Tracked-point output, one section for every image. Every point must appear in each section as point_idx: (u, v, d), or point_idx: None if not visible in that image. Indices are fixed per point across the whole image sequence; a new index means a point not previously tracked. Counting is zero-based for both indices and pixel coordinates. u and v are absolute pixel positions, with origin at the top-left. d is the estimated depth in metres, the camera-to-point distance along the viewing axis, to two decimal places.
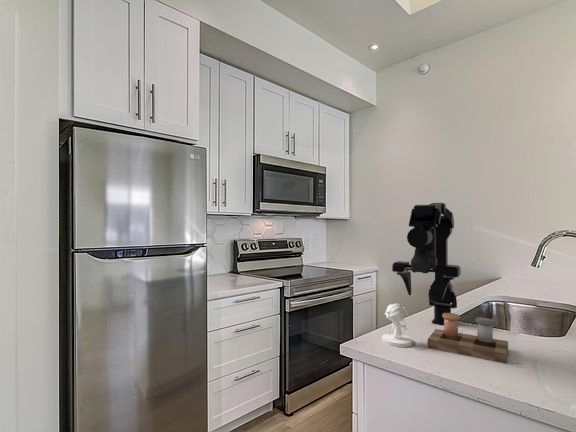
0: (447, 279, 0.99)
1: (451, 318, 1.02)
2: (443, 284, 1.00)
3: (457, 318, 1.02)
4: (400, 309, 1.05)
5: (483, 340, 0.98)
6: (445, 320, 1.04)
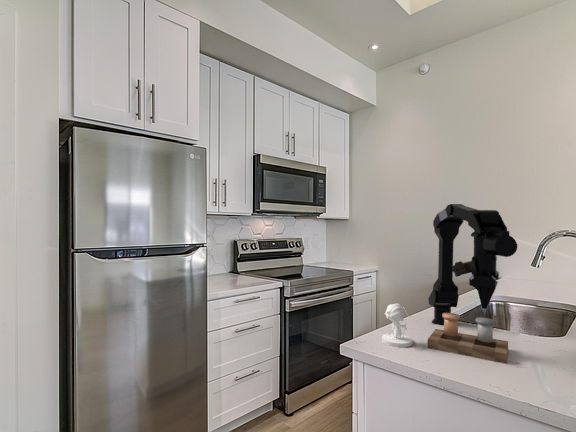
0: None
1: (451, 318, 1.02)
2: (478, 292, 0.98)
3: (457, 318, 1.02)
4: (400, 309, 1.05)
5: (483, 340, 0.98)
6: (445, 320, 1.04)
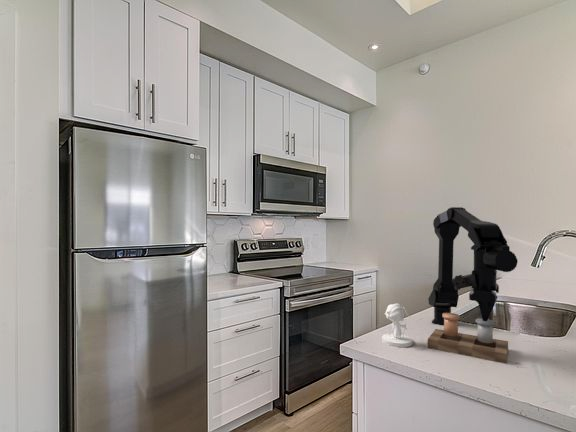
0: None
1: (451, 318, 1.02)
2: (479, 304, 1.00)
3: (457, 318, 1.02)
4: (400, 309, 1.05)
5: (483, 341, 0.98)
6: (445, 320, 1.04)
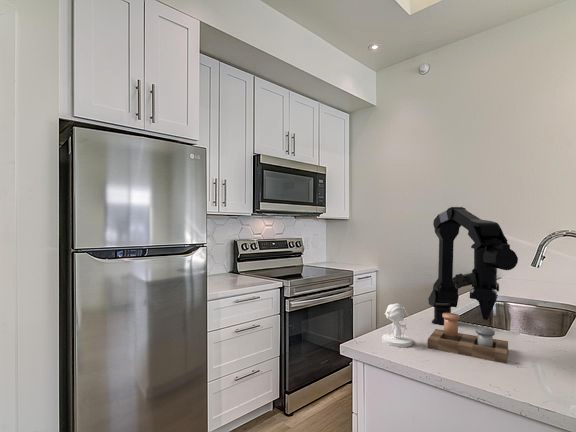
0: None
1: (451, 318, 1.02)
2: (479, 303, 0.99)
3: (457, 318, 1.02)
4: (400, 309, 1.05)
5: None
6: (445, 320, 1.04)
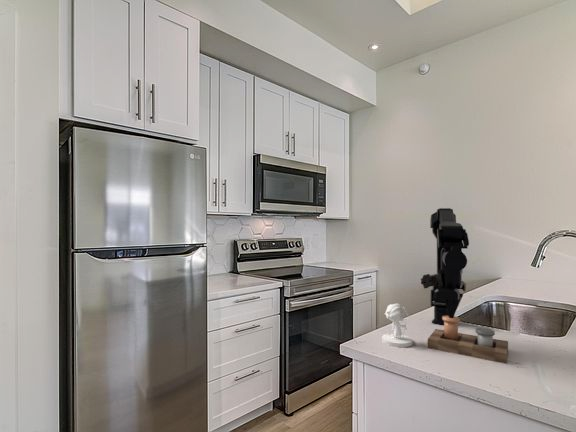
0: None
1: (451, 321, 1.02)
2: None
3: (457, 321, 1.02)
4: (400, 309, 1.05)
5: None
6: (445, 323, 1.04)
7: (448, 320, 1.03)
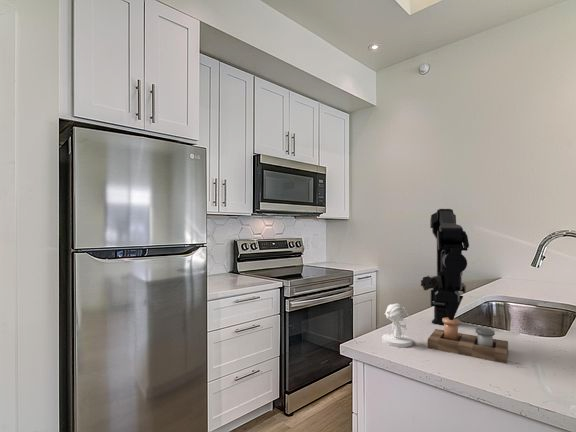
0: None
1: (451, 323, 1.02)
2: None
3: (457, 323, 1.02)
4: (400, 309, 1.05)
5: None
6: (445, 325, 1.04)
7: (448, 322, 1.03)
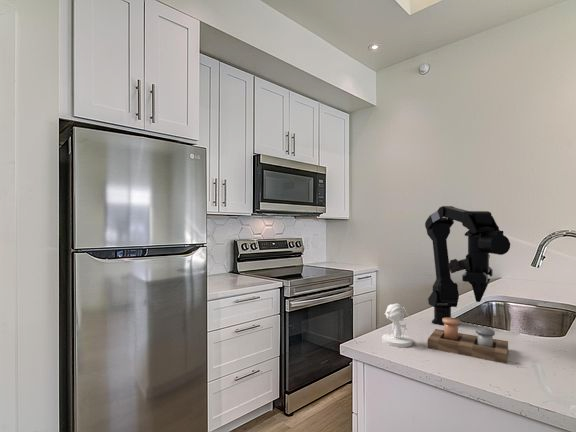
0: None
1: (451, 323, 1.02)
2: None
3: (457, 323, 1.02)
4: (400, 309, 1.05)
5: None
6: (445, 325, 1.04)
7: (448, 322, 1.03)
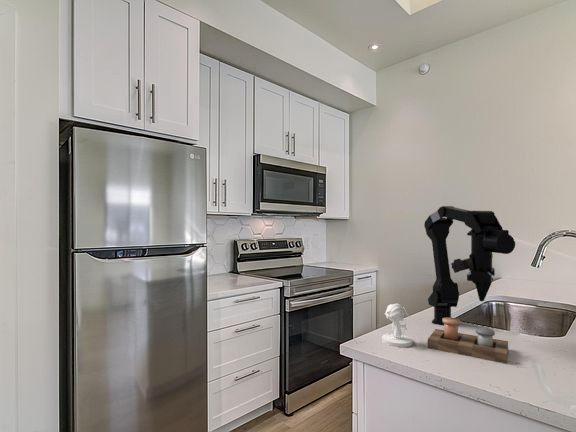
0: None
1: (451, 323, 1.02)
2: (476, 286, 1.07)
3: (457, 323, 1.02)
4: (400, 309, 1.05)
5: None
6: (445, 325, 1.04)
7: (448, 322, 1.03)
